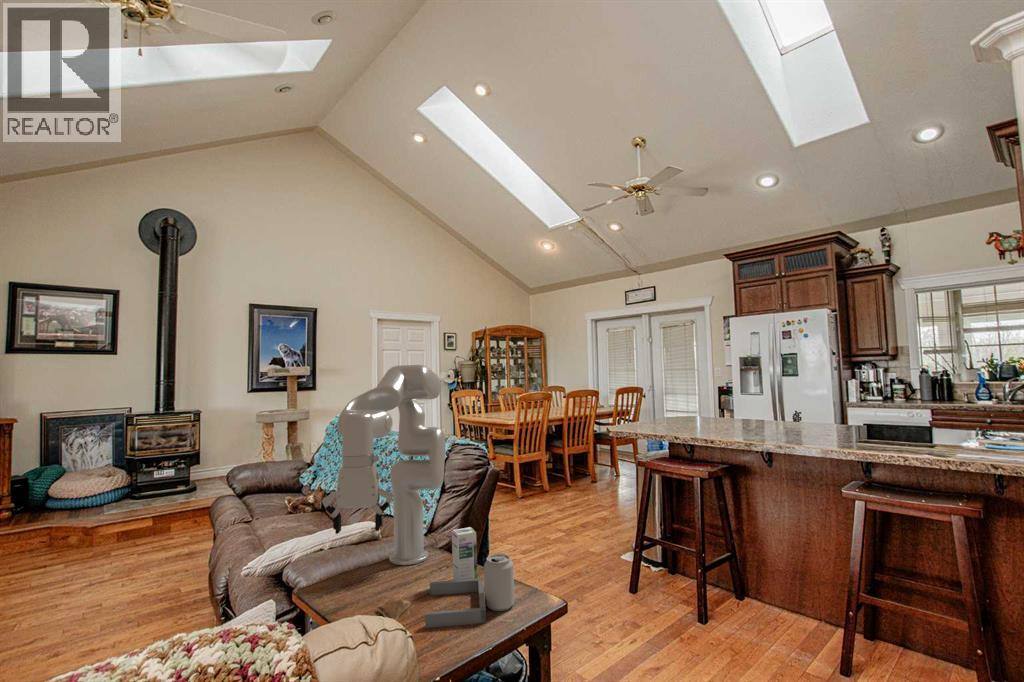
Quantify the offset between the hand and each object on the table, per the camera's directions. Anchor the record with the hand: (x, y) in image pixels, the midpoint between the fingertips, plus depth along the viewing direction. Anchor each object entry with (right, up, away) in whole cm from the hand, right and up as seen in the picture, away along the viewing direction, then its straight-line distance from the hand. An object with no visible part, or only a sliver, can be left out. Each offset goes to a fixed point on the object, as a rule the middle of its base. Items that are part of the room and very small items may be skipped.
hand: (358, 530), depth 121 cm
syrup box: (+25, -22, +17) cm, 37 cm away
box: (+24, -20, +2) cm, 32 cm away
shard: (+10, -21, 0) cm, 23 cm away
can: (+36, -20, +2) cm, 41 cm away
